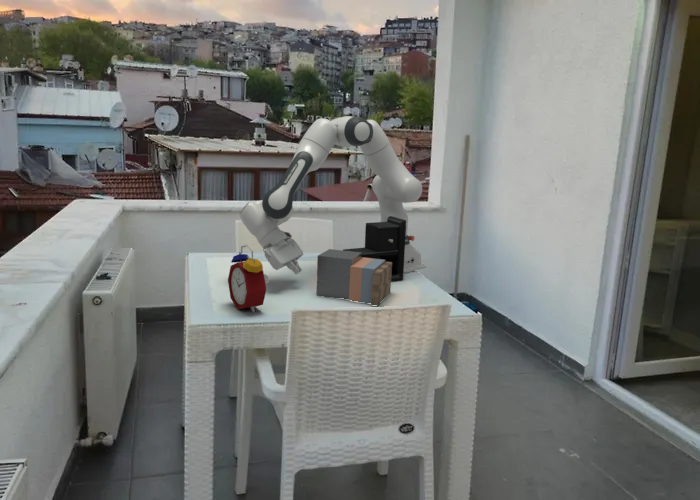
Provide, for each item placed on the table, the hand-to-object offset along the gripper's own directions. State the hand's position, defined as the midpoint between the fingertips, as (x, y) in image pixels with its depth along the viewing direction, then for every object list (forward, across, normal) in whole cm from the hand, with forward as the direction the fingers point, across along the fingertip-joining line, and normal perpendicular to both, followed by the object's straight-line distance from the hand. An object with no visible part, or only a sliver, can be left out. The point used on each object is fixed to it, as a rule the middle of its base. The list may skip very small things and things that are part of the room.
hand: (299, 272), depth 198 cm
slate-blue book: (+23, 0, -15) cm, 27 cm away
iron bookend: (+15, 0, -6) cm, 16 cm away
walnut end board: (+25, 0, -17) cm, 31 cm away
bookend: (+18, +23, -10) cm, 31 cm away
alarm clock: (+1, -27, +8) cm, 28 cm away
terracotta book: (+20, 0, -12) cm, 24 cm away
